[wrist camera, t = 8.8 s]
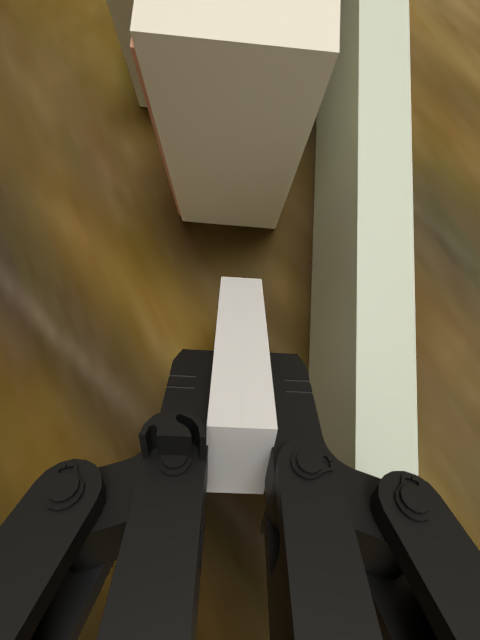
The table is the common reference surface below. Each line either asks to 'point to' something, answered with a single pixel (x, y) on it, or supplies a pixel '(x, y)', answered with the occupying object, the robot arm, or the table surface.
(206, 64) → the book
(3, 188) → the table surface
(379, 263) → the white u-shaped frame
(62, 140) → the table surface
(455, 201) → the table surface
